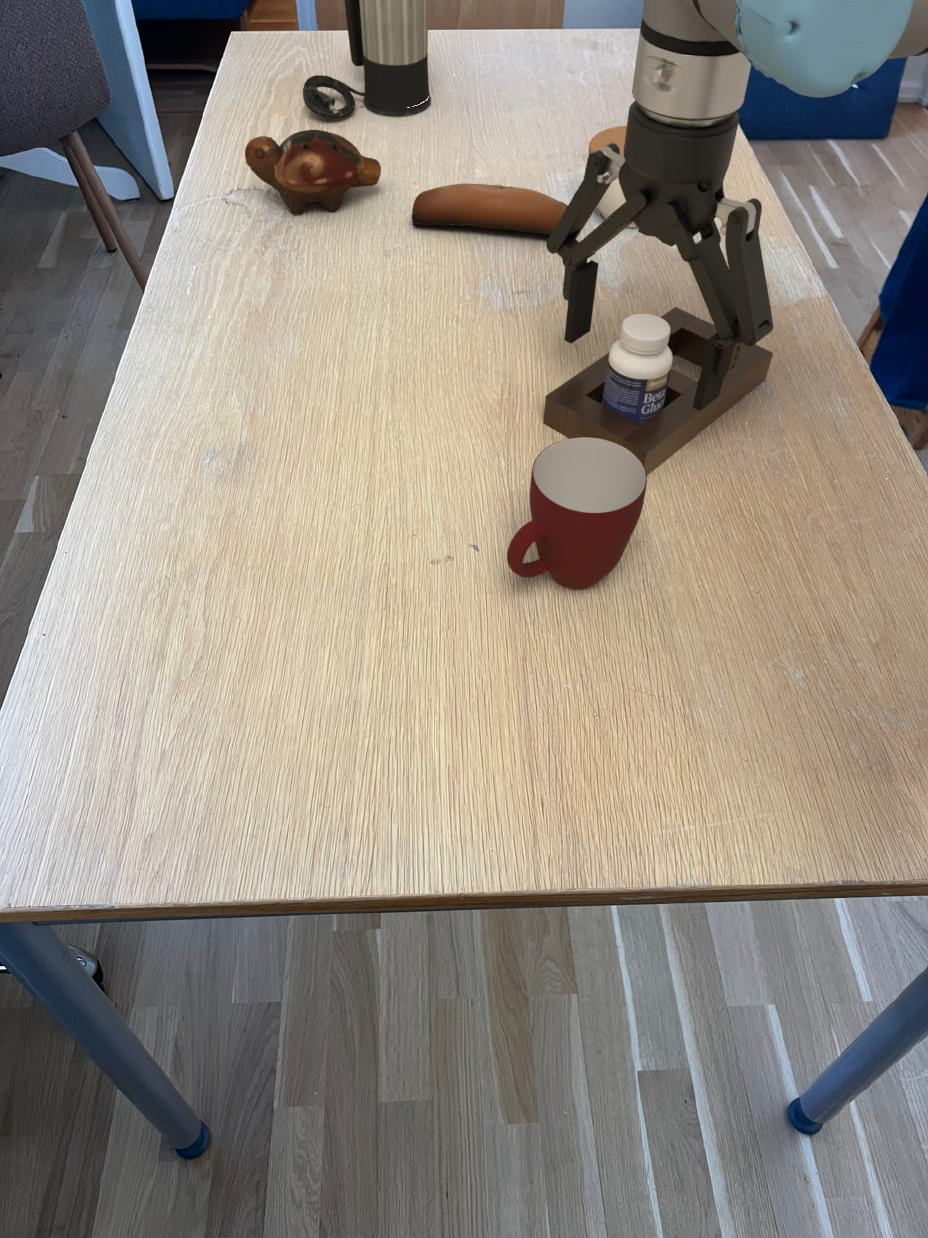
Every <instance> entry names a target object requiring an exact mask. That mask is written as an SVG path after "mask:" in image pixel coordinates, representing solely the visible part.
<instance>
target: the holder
mask: <svg viewBox="0 0 928 1238" xmlns="http://www.w3.org/2000/svg"><path fill="white" fill-rule="evenodd" d="M659 317H660V318H662V319H664V320H665V321H666V322H667V323H668V324H669V326H670V335H669V341H668V345H667V346H668V347H669V348H670V350H671V352H672V356H673V357H674V356H675V355H677V356H680V357H681V358H683V359H685V360H687V361H689V362H691V363H693V364H696V365H698V366H699V367H701V368H702V365H703V361H704V357H705V352H706V348H707V344H708V340H709V338H710V337H711V336H713V335H714V334H716V333H717V330H716V328H715V325H714V323H711V322H709V321H707V320H704V319H702V318H700V317H699V316H696V315H694V314H692V313H690V312H688V311H685V310H683V309H681V308H679V307H676V306H675V307H673V308H672V309H669V311H667V312H665V313H664V314H663V315H661V316H659ZM609 353H610V351H609V352H607V353H606V354H604V355H603V356H601V357H600V358H599V359H597V360H596V361H594V362H593V363H591V364H590V365H588V366H586V367H585V368H583V370H581V371H579V372H578V373H576V374H575V375H574V376H573V377H571V378H569V379H568V380H567V381H565V382H564V383H562V384H561V385H559V386H558V387H556V388H555V389H553V390H552V391H550V392H549V393H547V394H546V395H545V396H544V397H545V399H544V409H543V420H542V421H543V424H545V425H546V426H548V427H550V428H551V429H553V430H554V431H557V432H558V433H560V434H562V435H564V437H567V439H569V438H576V437H593V438H600V439H605V440H608V441H612V442H614V443H617V444H619V445H621V446H623V447H625V448H626V449H628V450H630V451H631V452H632V453H633V454H635V455H636V456H637V457H638V459H639V460H640V461H641V462H642V464H643V466H644V468H645V470H646V474H647V476H648V475H649V474H651V473H652V472H653V471H654V470H656V469H657V468H659V466H661V465H662V464H663V463H665V462H666V461H667V460H668V459H669V458H670V457H672V456H673V455H674V454H676V453H677V452H678V451H679V450H680V449H682V448H683V447H684V446H685V445H687V444H688V443H689V442H690V441H692V440H693V439H694V438H695V437H696V436H698V435H699V434H700V433H702V432H703V431H704V430H705V429H706V428H708V427H709V426H710V425H711V424H713V423H714V422H716V420H717V419H719V418H721V416H722V415H724V414H725V413H726V412H727V411H729V410H730V409H731V408H732V407H734V406H735V405H736V404H738V402H740V401H741V400H742V399H744V398H745V397H746V396H747V395H748V394H750V393H751V392H752V391H753V390H754V389H756V388H757V387H759V386H760V385H761V384H762V383H763V382H765V381H766V379H767V377H768V376H767V375H768V372H769V370H770V369H769V368H770V366H771V362H772V359H773V356H774V352H772V351H770V350H768V349H767V348H764V347H762V346H760V345H757V343H756V344H755V345H753V346H747V345H745V344H744V343H743V346H742V350H741V354H740V357H739V361H738V365H737V367H736V368H735V369H734V370H733V371H732V372H731V373H730V374H728V375H727V376H726V377H725V378H723V382H722V386H721V390H720V394H719V397H718V398H716V399H715V400H714V401H713V402H711V403H710V404H709V405H708V406H706V407H705V408H704V409H702V410H701V411H698V410H696V409H695V408H693V403H694V399H695V394H696V390H697V386H698V382H699V381H697V380H695V379H694V378H691V377H689V376H687V375H686V374H683V373H682V372H679V371H678V370H675V369H674V368H671V372H670V377H669V381H668V386H667V391H666V396H665V400H664V405H663V409H662V410H661V411H660V412H658V413H657V414H656V415H654V416H653V417H652V418H651V419H649V420H648V421H647V422H645V423H644V424H643V425H641V426H640V425H638V424H636V423H635V422H633V421H631V420H629V419H627V418H626V417H624V416H622V415H620V414H618V413H616V412H615V411H613V410H611V409H609V408H607V407H605V406H604V405H602V397H603V391H604V385H605V378H606V372H607V365H608V358H609Z"/></svg>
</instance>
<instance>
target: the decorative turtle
mask: <svg viewBox="0 0 928 1238" xmlns="http://www.w3.org/2000/svg"><path fill="white" fill-rule="evenodd" d="M244 158H245V162H246V165H247V167H249V169H250V170H251V171H252V172H253V174H254V175H255V176H256V177H258V178H259V179H260V180H261V181H262V182H264V183H265V184H267V185H269V186H270V187H272V188H273V189H275V190H276V191H277V193H278V194H279V196H280V197H281V199H282V200H283V202H284V204H285V205H286V207H287V209H288V211H289V212H291V213H292V214H294V215H299V214H301V213H302V212H303V211H304V210H305V209H306V208H307V206H308V205H309V204H310V203H311V202H312V201H315V202H318V203H319V204H320V205H322V206H323V207H324V208H325V209H326V210H327V211H329V212H332V213H335V212H336V211H337V210H339V208H340V207H341V205H342V202H343V200H344V197H345V195H346V194H347V192H348V190H349V189H351V188H361V187H371V186H372V187H373V186H376V185H377V184H378V182H379V180H380V177H381V173H382V167H381V164H380V162H379V160H378V159H376V158H373V157H367V156H364V155H362V154H361V152H360V150H359V149H358V147H356V146H355V144H353V143H352V142H351V141H350V140H348V139H347V138H345V137H343V136H342V135H340V134H337V133H334V132H329V131H326V130H321V129H306V130H301V131H297V132H294V133H292V134H291V135H288V137H287V138H286V139H284V140H283V141H282V142H281V144H280V145H279V144H278V142H276V140H275V139H273V138H272V137H271V136H267V135H261V136H256V137H254V138H252V139H250V140H249V141H248V142H247V144H246V146H245V148H244Z"/></svg>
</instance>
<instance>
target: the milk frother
mask: <svg viewBox="0 0 928 1238" xmlns="http://www.w3.org/2000/svg"><path fill="white" fill-rule="evenodd" d="M428 5H429V3H428V0H344V9H345V18H346V27H347V36H348V42H349V51H350V52H349V53H350V59H351V63H352V65H354V66H355V67H363V77H364V79H363V81H364V87H363V88H364V91H363V92H362V91H361V92H360V91H358V90H357V89H354V88H353V87H351V86H349V85H348V84H346V83H345V82H344V81H341V80H339V79H336V78H334V77H331V76H329V75H321V74H320V75H319V74H315V75H312V76H310V77H308V78H307V79H306V81H305V82H304V84H303V88H302V99H303V102H304V104H305V106H306V107H307V108H308V110H309V111H311V113H313V114H314V115H316V116H318V117H320V118H322V119H326V120H342V119H345V118H348V117H350V116H351V115H352V114H353V113H354V111H355V108H356V100H355V97H354V95H353V94H355V95H357V94H358V95H357V96H361V97H363V99H362V101H363V104H364V106H365V107H366V108H367V109H369V110H370V111H371V112H374V113H376V114H381V115H386V116H401V117H402V116H407V115H414V114H418V113H421V112H422V111H424V110H426V109H427V108H428V107H429V106H430V105H431V103H432V97H431V95H430V87H429V86H430V85H429V52H428V49H429V36H428V35H429V17H428V16H429V14H428V13H429V11H428V7H429V6H428ZM318 88H327V89H328V88H329V89H331V90H334V91H336V92H337V93H339V94H340V95H341V96H342V98H343V99H344V102H345V105H344V106H343V107H342V108H339V109H337V108H336V107H335V104H336V98H335V97H331V96H329V95H328V94H327V93H325V92H323V91H320V90H319V89H318ZM428 96H429V98H428ZM427 98H428V100H427V101H425V100H426V99H427ZM423 101H425V102H424V103H422V104H420V103H421V102H423ZM418 104H420V105H418ZM414 105H418V106H414ZM412 106H414V107H412ZM407 107H410V108H407Z"/></svg>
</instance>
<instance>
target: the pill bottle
mask: <svg viewBox="0 0 928 1238" xmlns="http://www.w3.org/2000/svg"><path fill="white" fill-rule="evenodd" d="M660 317H661V316H658V315H654V314H650V313H637V314H636V313H635V314H632V315H629V316H627V317H626V318H625V319H624V320H622V321H623V322H622V324H621V329H620V333H619V339H618V340H617V341H615V342H614V343H613V345H612V346H611V348H610V350H609V352H610V353H609V352H608V353H609V358H608V365H607V372H606V378H605V385H604V391H603V397H602V405H604V406H605V407H607V408H609V409H611V410H613V411H615V412H616V413H618V414H620V415H622V416H624V417H626V418H627V419H629V420H631V421H633V422H635V423H636V424H638V425H640V426H641V425H643V424H644V423H645V422H647V421H648V420H649V419H651V418H652V417H653V416H654V415H656V414H657V413H658V412H660V411H661V410H662V409H663V405H664V400H665V396H666V391H667V386H668V381H669V377H670V372H671V369H672V366H673V361H674V359H673V358H674V356H672V352H671V350H670V348H669V347H668V346H667V345H668V341H669V335H670V326H669V324H668V323H667V322H666V321H665V320H664V319H662V318H660Z"/></svg>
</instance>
